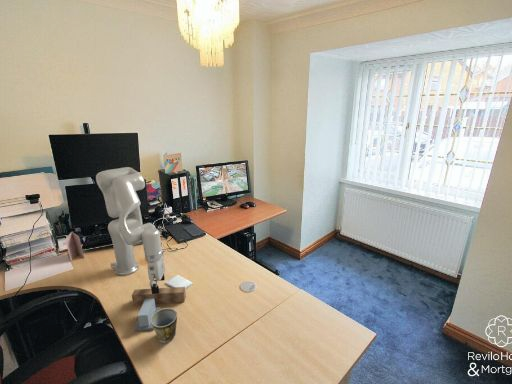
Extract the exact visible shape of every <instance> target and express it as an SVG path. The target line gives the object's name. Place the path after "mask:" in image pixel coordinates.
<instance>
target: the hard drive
mask: <svg viewBox="0 0 512 384" xmlns="http://www.w3.org/2000/svg"><path fill="white" fill-rule="evenodd" d="M165 285H167V286H168V287H169V288H173V287H185V291H186V290H187V289H189V288H190V287H192V286H193V285H194V283H193V282H192V281H190V280H188V279H187V278H185V277H183V276H181V275H179V274H176V275H175V276H173V277H171V278H170V279H169V280H167V281H166V282H165Z"/></svg>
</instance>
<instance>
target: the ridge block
mask: <svg viewBox="0 0 512 384" xmlns="http://www.w3.org/2000/svg"><path fill="white" fill-rule="evenodd" d="M161 309H162V307H159V306H157V307H156V304H155V300H154V299H145V301H144V303H143V305H141V307H140V310H139V312H138V314H137V319H138V320H137V321H136V323H135V326H134V328H133V331H134V332H144V331H146V332H147V331H155V330H154V328H153V326H152V323H151V318H152V316H153V315H154V314H155V313H156V312H157V311H159V310H161Z"/></svg>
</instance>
